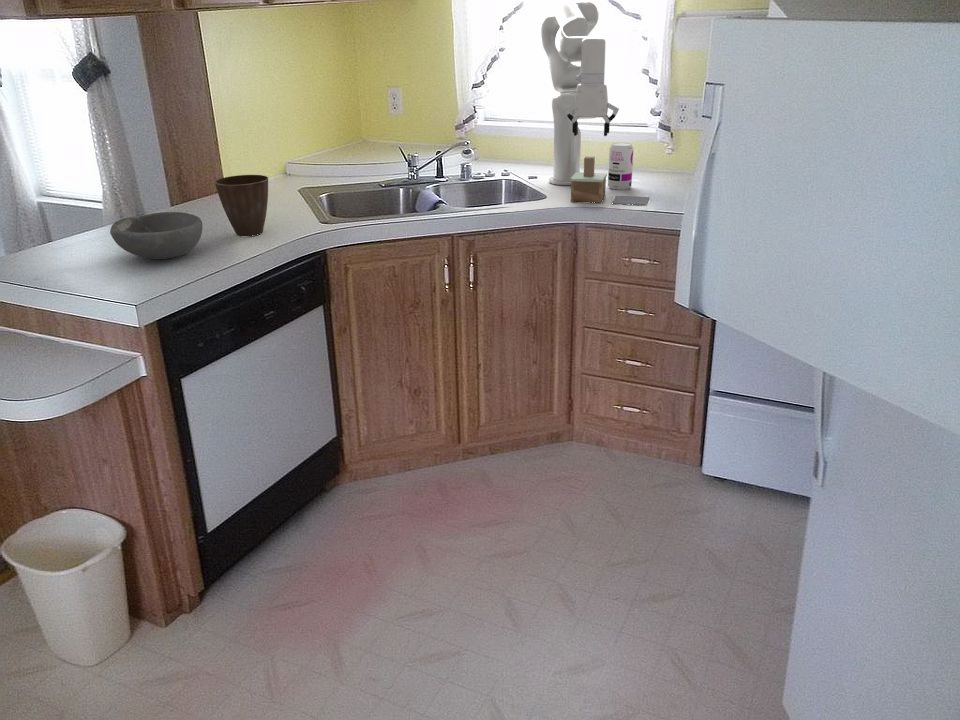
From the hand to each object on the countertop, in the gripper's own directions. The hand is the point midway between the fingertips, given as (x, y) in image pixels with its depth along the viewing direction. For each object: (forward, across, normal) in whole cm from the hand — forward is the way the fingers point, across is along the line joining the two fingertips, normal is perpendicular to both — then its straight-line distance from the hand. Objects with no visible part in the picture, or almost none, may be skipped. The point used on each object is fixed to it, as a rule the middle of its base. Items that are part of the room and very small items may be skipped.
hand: (590, 135), depth 263 cm
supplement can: (+21, +8, +21) cm, 30 cm away
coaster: (+21, +14, +1) cm, 25 cm away
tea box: (+21, 0, +1) cm, 21 cm away
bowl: (+22, -102, -87) cm, 136 cm away
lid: (+14, 0, +1) cm, 14 cm away
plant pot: (+22, -91, -61) cm, 112 cm away
